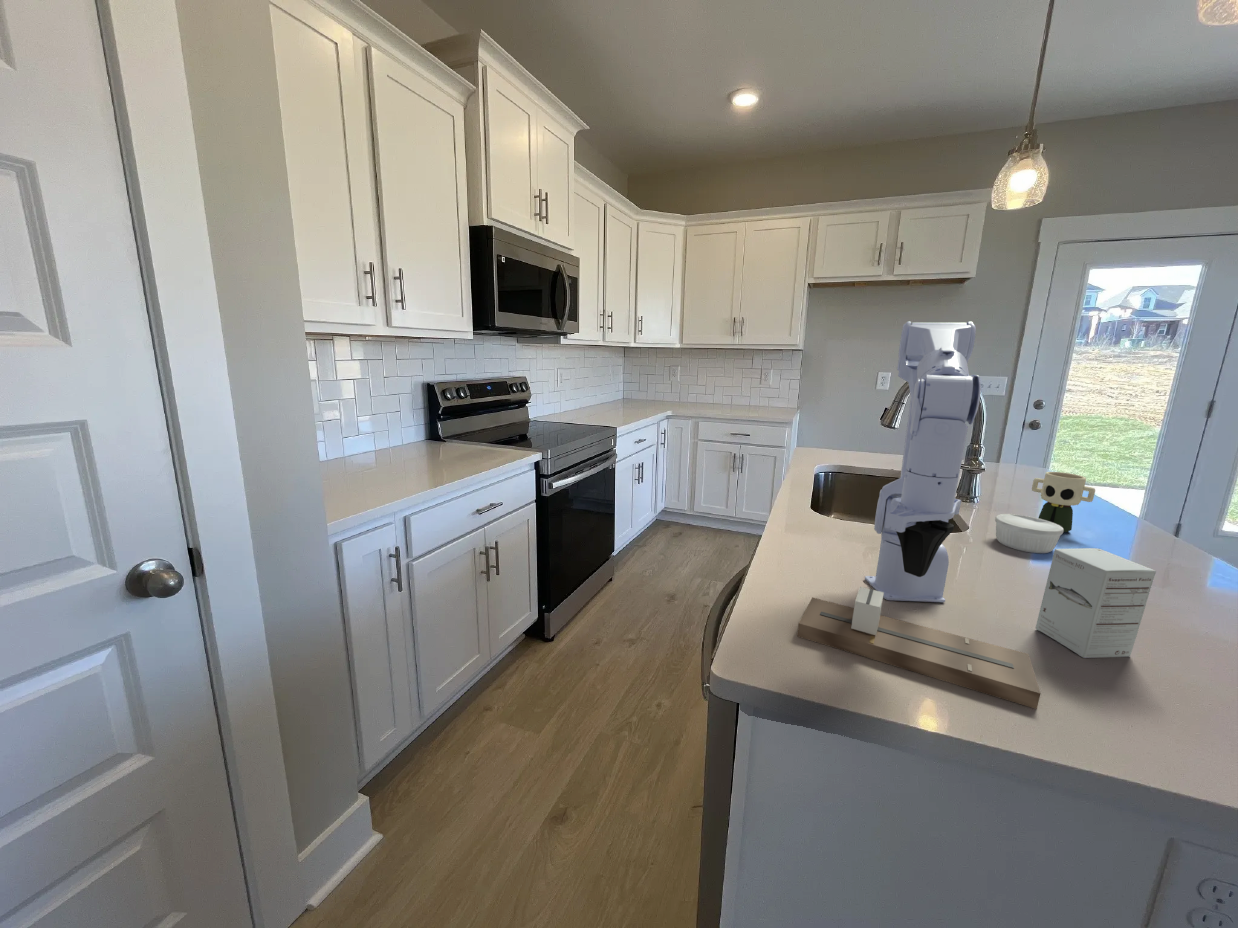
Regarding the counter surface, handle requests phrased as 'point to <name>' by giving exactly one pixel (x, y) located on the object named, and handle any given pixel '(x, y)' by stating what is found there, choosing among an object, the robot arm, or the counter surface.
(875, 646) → the fader board
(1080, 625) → the supplement box
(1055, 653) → the counter surface
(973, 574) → the counter surface
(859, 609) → the fader knob
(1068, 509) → the character mug
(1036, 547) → the ramekin
